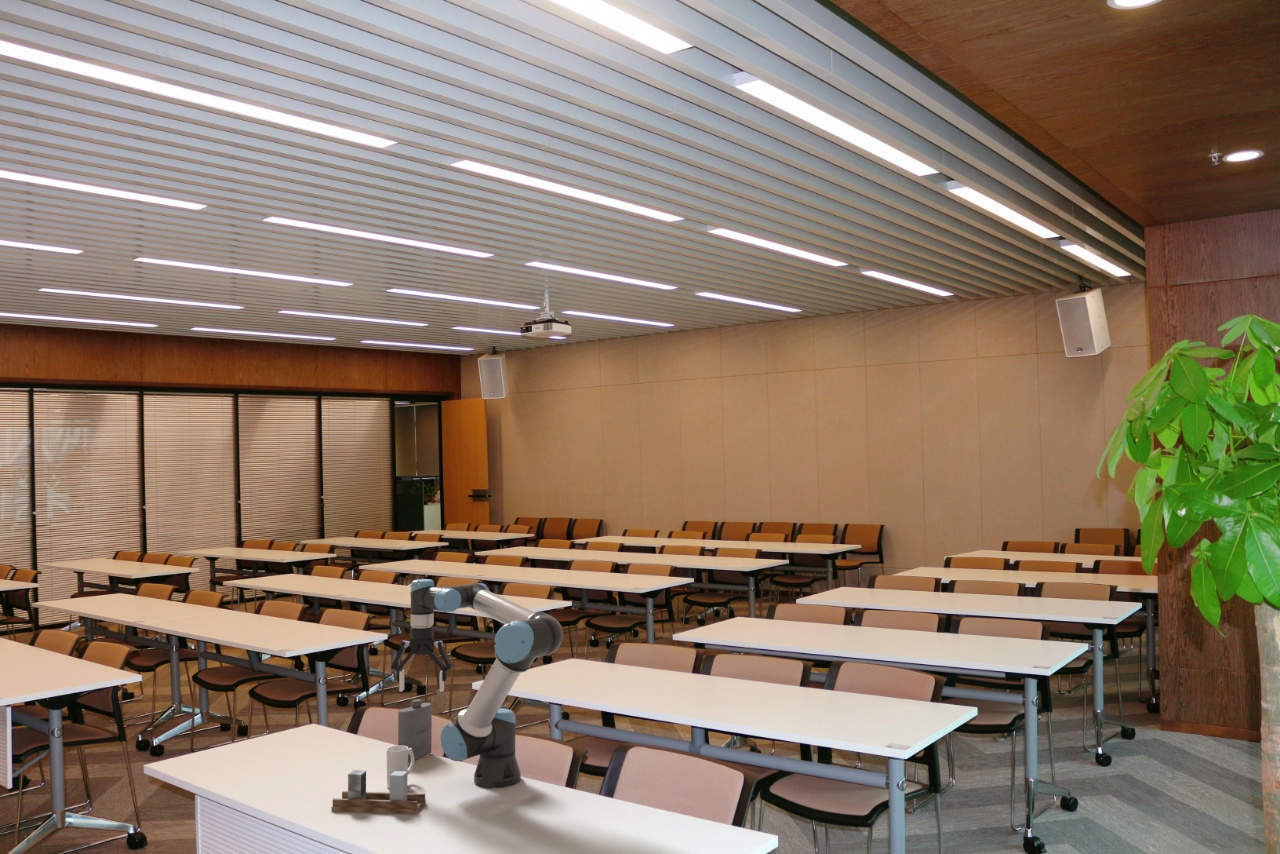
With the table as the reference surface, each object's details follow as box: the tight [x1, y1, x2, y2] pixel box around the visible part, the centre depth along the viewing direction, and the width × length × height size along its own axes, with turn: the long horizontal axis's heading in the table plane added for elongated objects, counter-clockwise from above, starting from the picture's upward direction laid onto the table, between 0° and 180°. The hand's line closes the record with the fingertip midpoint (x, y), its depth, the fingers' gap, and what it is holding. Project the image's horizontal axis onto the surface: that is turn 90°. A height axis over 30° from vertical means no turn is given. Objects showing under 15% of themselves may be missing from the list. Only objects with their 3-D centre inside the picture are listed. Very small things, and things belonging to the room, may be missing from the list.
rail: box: [331, 769, 427, 815], centre depth 288 cm, size 26×9×10 cm, turn 83°
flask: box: [397, 699, 433, 763], centre depth 340 cm, size 15×6×20 cm, turn 152°
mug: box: [386, 745, 415, 790], centre depth 309 cm, size 10×7×12 cm, turn 141°
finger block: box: [389, 771, 408, 801], centre depth 287 cm, size 4×4×9 cm
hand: (421, 690), depth 317 cm, fingers open, 13 cm apart
